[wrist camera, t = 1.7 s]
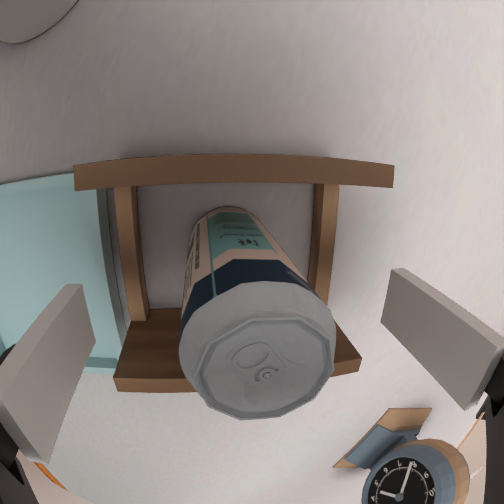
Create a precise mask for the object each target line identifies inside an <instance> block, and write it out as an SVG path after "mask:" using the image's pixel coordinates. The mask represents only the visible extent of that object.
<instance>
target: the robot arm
mask: <svg viewBox="0 0 504 504" xmlns="http://www.w3.org/2000/svg"><path fill="white" fill-rule="evenodd" d="M381 323H382V324H383V325H384V326H385V327H386V328H387V329H388V330H389V331H390V332H391V333H392V334H393V335H394V336H395V337H396V338H397V339H398V340H399V341H400V342H401V343H402V345H403V346H404V347H405V348H406V349H407V350H408V351H409V352H410V353H411V354H412V355H413V356H414V357H415V358H416V359H417V360H418V361H419V362H420V363H421V364H422V366H423V367H424V368H425V369H426V370H427V371H428V372H429V373H430V374H431V375H432V376H433V377H434V378H435V379H436V380H437V382H438V383H439V384H440V385H441V386H442V387H443V388H444V389H445V390H446V391H447V392H448V394H449V395H450V396H451V397H452V398H453V399H454V400H455V401H456V402H457V404H458V405H459V406H460V407H461V408H462V409H463V410H464V411H465V410H467V409H469V408H471V407H472V406H474V405H476V404H477V403H478V401H479V399H480V398H481V396H482V394H483V392H484V391H485V392H486V393H487V394H488V396H487V398H486V400H485V401H484V403H483V405H482V406H481V408H480V410H479V411H478V413H477V414H476V419H478V418H479V417H480V415H481V413H482V412H485V413H484V415H483V417H482V418H481V419H483V420H486V436H487V437H486V438H487V459H486V482H485V494H484V504H504V337H502V336H501V335H500V334H498V333H497V332H496V331H494V330H493V329H492V328H490V327H489V326H488V325H486V324H485V323H484V322H482V321H481V320H479V319H478V318H477V317H475V316H474V315H473V314H471V313H470V312H468V311H467V310H466V309H464V308H463V307H461V306H460V305H458V304H457V303H456V302H454V301H453V300H451V299H450V298H448V297H447V296H445V295H444V294H443V293H441V292H440V291H438V290H437V289H435V288H434V287H432V286H431V285H429V284H428V283H426V282H425V281H423V280H422V279H420V278H419V277H417V276H416V275H414V274H412V273H411V272H409V271H408V270H406V269H405V268H399V269H391V274H390V280H389V285H388V290H387V295H386V300H385V304H384V309H383V313H382V317H381ZM95 343H96V339H95V336H94V332H93V328H92V325H91V321H90V317H89V313H88V309H87V304H86V300H85V295H84V291H83V286H82V284H66V285H65V286H64V287H63V288H62V289H61V290H60V291H59V293H58V294H57V295H56V296H55V297H54V298H53V299H52V301H51V302H50V303H49V304H48V305H47V306H46V308H45V309H44V310H43V311H42V312H41V314H40V315H39V316H38V317H37V318H36V320H35V321H34V322H33V323H32V325H31V326H30V327H29V328H28V330H27V331H26V332H25V333H24V335H23V336H22V337H21V338H20V340H19V341H18V342H17V344H13V345H12V346H11V347H9V348H8V349H7V350H5V351H4V352H3V353H2V355H1V356H0V504H39V503H38V501H37V499H36V497H35V495H34V493H33V491H32V488H31V486H30V484H29V482H28V479H27V477H26V475H25V472H24V470H23V468H22V465H21V463H20V461H19V460H18V459H17V457H16V454H17V452H18V449H20V451H21V452H22V453H23V454H24V455H25V456H26V458H27V459H28V460H30V461H33V462H37V463H40V464H44V465H48V464H49V461H50V458H51V455H52V452H53V449H54V445H55V442H56V440H57V437H58V434H59V431H60V428H61V425H62V422H63V420H64V417H65V414H66V412H67V409H68V406H69V404H70V401H71V399H72V396H73V394H74V391H75V389H76V386H77V384H78V381H79V379H80V377H81V374H82V372H83V370H84V367H85V365H86V363H87V361H88V358H89V356H90V354H91V352H92V349H93V347H94V345H95Z"/></svg>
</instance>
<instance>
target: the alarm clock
mask: <svg viewBox="0 0 504 504" xmlns="http://www.w3.org/2000/svg"><path fill="white" fill-rule="evenodd" d="M431 410H432V408H389V409H388V410H387V411H386V412H385V414H384V415H383V416H382V417H381V418H380V419H379V420H378V421H377V423H376V424H375V425H374V426H373V427H372V428H371V429H370V430H369V431H368V432H367V433H366V434H365V435H364V437H363V438H362V439H361V440H360V441H359V442H358V443H357V444H356V445H355V446H354V447H353V448H352V449H351V450H350V451H349V452H348V453H347V454H346V455H344V456H343V457H342V458H341V459H340V460H339V461H338V462H337V463H336V464H335V465H334V466H333V468H356V467H361V468H364V469H367V468H370V470H371V472H370V474H369V475H368V477H367V479H366V481H365V485H364V487H363V492H362V504H464V501H465V499H466V496H467V494H468V490H469V483H470V474H469V469H468V464H467V463H466V461H465V459H464V457H463V455H462V454H461V453H460V452H459V451H458V450H457V449H456V448H455V447H453V446H452V445H451V444H448V443H446V442H444V441H442V440H437V439H424V440H418V439H417V438H416V436H417V435H418V434H419V432H420V429H421V427H422V424H423V423H424V421H425V420H426V418H427V417H428V415H429V413H430V412H431Z"/></svg>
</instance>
